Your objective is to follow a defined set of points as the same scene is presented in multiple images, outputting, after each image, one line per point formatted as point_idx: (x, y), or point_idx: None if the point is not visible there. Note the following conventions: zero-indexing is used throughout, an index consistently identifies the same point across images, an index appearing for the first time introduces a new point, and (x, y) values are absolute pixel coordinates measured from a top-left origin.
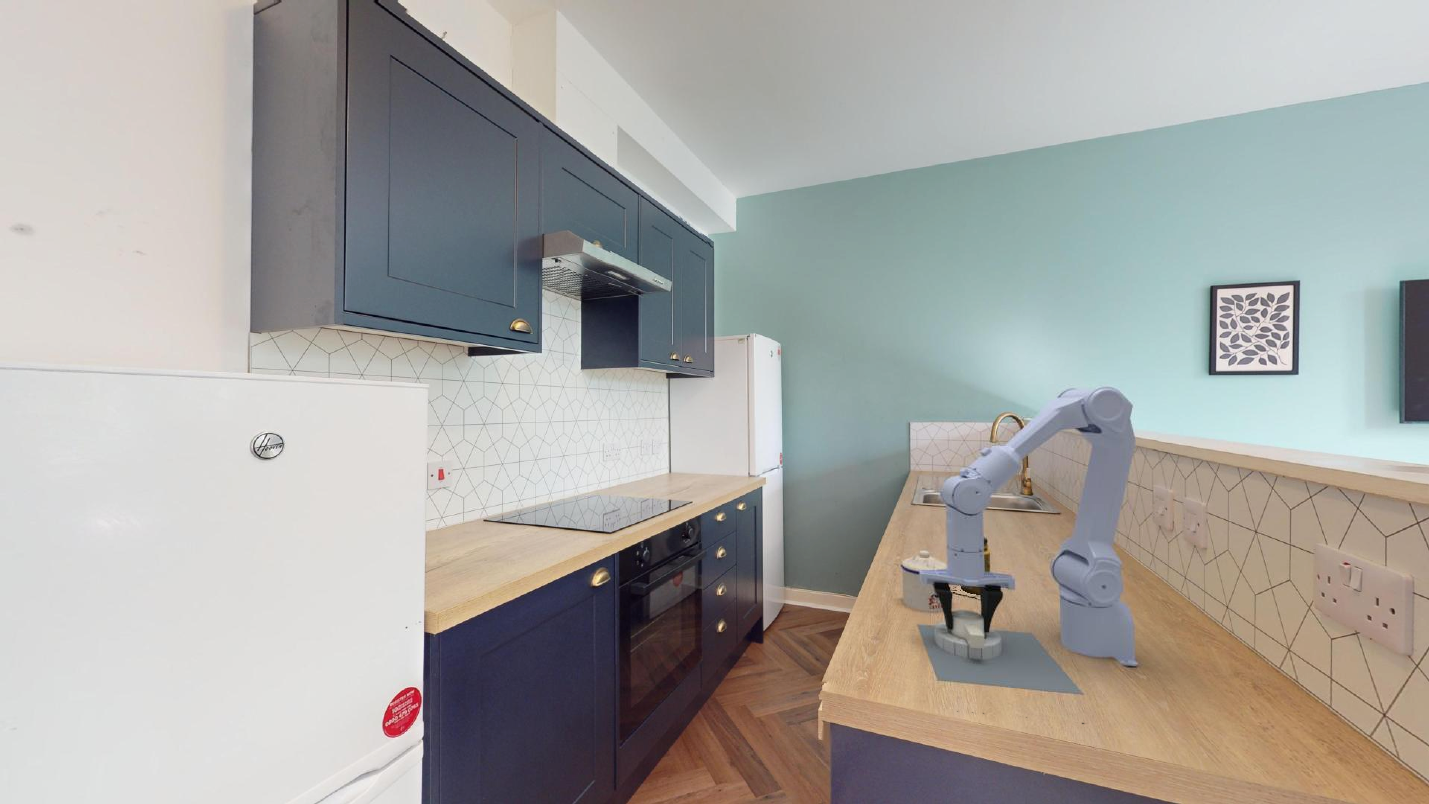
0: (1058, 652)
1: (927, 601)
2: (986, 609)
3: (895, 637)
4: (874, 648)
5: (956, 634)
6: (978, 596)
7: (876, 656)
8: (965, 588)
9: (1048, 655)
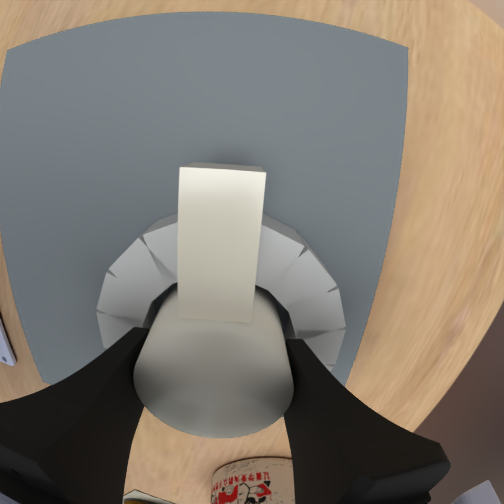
0: (4, 309)
1: (274, 487)
2: (102, 393)
3: (407, 352)
4: (479, 278)
5: (275, 313)
6: (143, 498)
7: (490, 233)
8: None
9: (9, 264)
